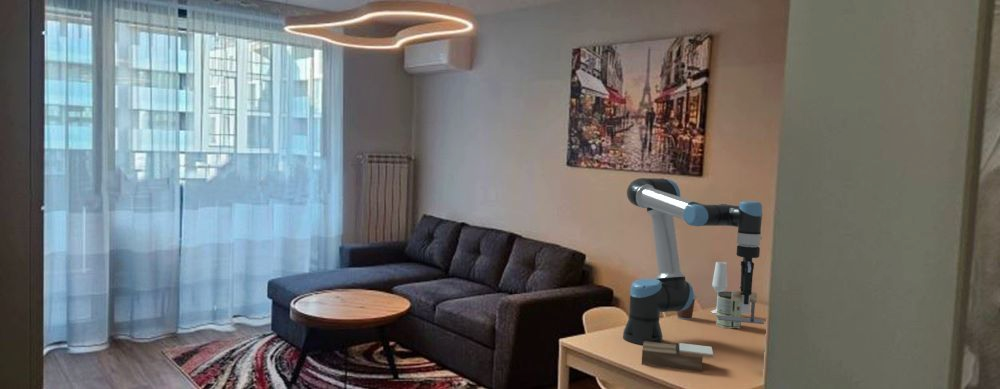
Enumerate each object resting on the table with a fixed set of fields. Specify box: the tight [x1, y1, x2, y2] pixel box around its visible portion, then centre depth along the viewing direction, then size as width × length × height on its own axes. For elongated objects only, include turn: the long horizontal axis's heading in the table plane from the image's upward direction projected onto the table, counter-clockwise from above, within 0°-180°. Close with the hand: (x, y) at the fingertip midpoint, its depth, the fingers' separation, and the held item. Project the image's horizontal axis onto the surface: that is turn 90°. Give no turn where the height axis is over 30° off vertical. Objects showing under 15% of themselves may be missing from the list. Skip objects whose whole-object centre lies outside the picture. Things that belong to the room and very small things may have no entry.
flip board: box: [641, 341, 704, 373], centre depth 236 cm, size 12×20×6 cm, turn 76°
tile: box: [678, 342, 714, 358], centre depth 234 cm, size 9×11×1 cm
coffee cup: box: [676, 294, 697, 321], centre depth 302 cm, size 9×9×12 cm
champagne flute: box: [710, 261, 728, 314], centre depth 315 cm, size 7×7×24 cm
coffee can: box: [715, 291, 742, 329], centre depth 292 cm, size 10×10×14 cm
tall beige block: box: [716, 290, 765, 325], centre depth 235 cm, size 15×6×10 cm, turn 76°
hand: (744, 312), depth 235 cm, fingers closed on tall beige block, 3 cm apart
